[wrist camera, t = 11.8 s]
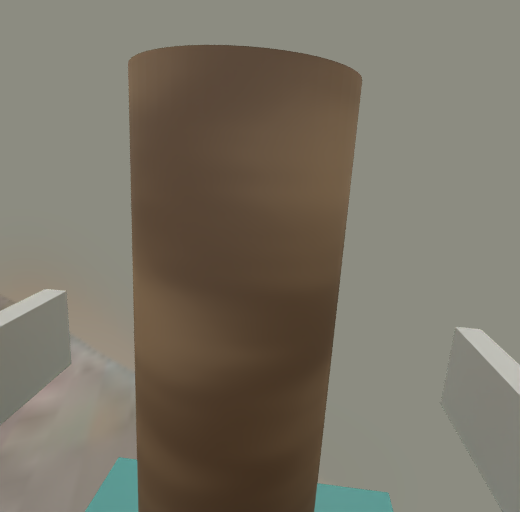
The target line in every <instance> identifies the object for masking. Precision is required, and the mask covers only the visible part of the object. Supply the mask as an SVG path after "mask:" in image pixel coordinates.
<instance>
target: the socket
mask: <svg viewBox="0 0 520 512" xmlns="http://www.w3.org/2000/svg"><path fill="white" fill-rule="evenodd" d="M85 512H138V474H137V460H135V459H128V458H120V457H119V458H118V460H117V461H116V463H115V464H114V466H113V468H112V469H111V471H110V472H109V474H108V476H107V477H106V479H105V480H104V482H103V484H102V485H101V487H100V488H99V490H98V492H97V493H96V495H95V496H94V498H93V500H92V501H91V503H90V504H89V506H88V508H87V509H86V511H85ZM314 512H393V508H392V505H391V501H390V497H389V493H387V492H379V491H372V490H364V489H356V488H349V487H341V486H334V485H326V484H318V483H317V491H316V500H315V509H314Z"/></svg>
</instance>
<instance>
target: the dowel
mask: <svg viewBox="0 0 520 512" xmlns="http://www.w3.org/2000/svg"><path fill="white" fill-rule="evenodd" d="M128 75H129V76H128V77H129V121H130V163H131V207H132V208H131V209H132V251H133V252H132V254H133V292H134V293H133V296H134V297H133V298H134V341H135V386H136V430H137V474H138V512H314V509H315V500H316V491H317V482H318V473H319V464H320V455H321V446H322V436H323V428H324V419H325V410H326V401H327V392H328V383H329V374H330V365H331V356H332V347H333V338H334V328H335V319H336V311H337V302H338V292H339V284H340V275H341V266H342V257H343V248H344V239H345V230H346V221H347V212H348V203H349V194H350V185H351V176H352V167H353V158H354V149H355V140H356V130H357V122H358V112H359V103H360V95H361V86H362V77H361V75H360V74H359V73H358V72H356V71H355V70H353V69H352V68H350V67H348V66H346V65H343V64H340V63H338V62H335V61H332V60H328V59H325V58H321V57H317V56H312V55H308V54H303V53H297V52H291V51H285V50H278V49H270V48H259V47H249V46H231V45H188V46H174V47H166V48H159V49H154V50H149V51H145V52H142V53H139V54H137V55H135V56H133V57H132V58H131V59H130V60H129V62H128Z"/></svg>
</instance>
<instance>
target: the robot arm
mask: <svg viewBox="0 0 520 512" xmlns="http://www.w3.org/2000/svg"><path fill="white" fill-rule="evenodd" d="M70 364H71V351H70V336H69V322H68V307H67V292H66V291H61V290H50V289H44V290H43V291H40V292H38V293H36V294H34V295H32V296H30V297H28V298H26V299H24V300H22V301H20V302H18V303H16V304H14V305H12V306H10V307H8V308H6V309H3V310H1V311H0V425H1V424H2V423H3V422H5V421H6V420H7V419H8V418H9V417H10V416H12V415H13V414H14V413H15V412H16V411H17V410H18V409H20V408H21V407H22V406H23V405H24V404H25V403H27V402H28V401H29V400H30V399H31V398H32V397H33V396H35V395H36V394H37V393H38V392H39V391H40V390H42V389H43V388H44V387H45V386H46V385H47V384H48V383H50V382H51V381H52V380H53V379H54V378H55V377H57V376H58V375H59V374H60V373H61V372H62V371H63V370H65V369H66V368H67V367H68V366H69V365H70ZM441 406H442V408H443V409H444V411H445V413H446V415H447V416H448V418H449V420H450V421H451V423H452V425H453V427H454V428H455V430H456V432H457V434H458V435H459V437H460V439H461V441H462V442H463V444H464V445H465V447H466V449H467V451H468V453H469V454H470V456H471V458H472V460H473V461H474V463H475V465H476V467H477V468H478V470H479V472H480V473H481V475H482V477H483V479H484V480H485V482H486V484H487V486H488V487H489V489H490V491H491V492H492V494H493V496H494V498H495V499H496V501H497V503H498V505H499V506H500V508H501V510H502V512H520V365H519V364H518V363H517V362H516V361H515V360H514V359H513V358H511V357H510V356H509V355H508V354H507V353H506V352H505V351H504V350H503V349H502V348H501V347H499V346H498V345H497V344H496V343H495V342H494V341H493V340H492V339H491V338H490V337H489V336H488V335H487V334H486V333H484V332H483V331H482V330H481V329H473V328H462V327H455V331H454V337H453V342H452V347H451V352H450V358H449V363H448V368H447V373H446V379H445V384H444V389H443V394H442V400H441Z"/></svg>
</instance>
